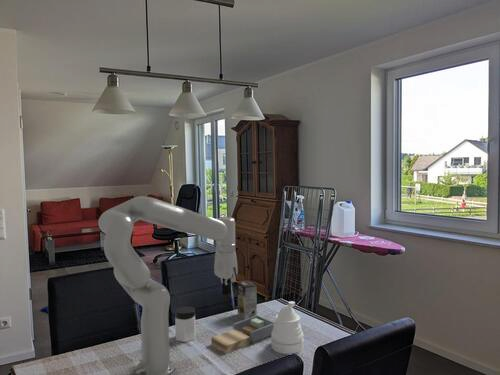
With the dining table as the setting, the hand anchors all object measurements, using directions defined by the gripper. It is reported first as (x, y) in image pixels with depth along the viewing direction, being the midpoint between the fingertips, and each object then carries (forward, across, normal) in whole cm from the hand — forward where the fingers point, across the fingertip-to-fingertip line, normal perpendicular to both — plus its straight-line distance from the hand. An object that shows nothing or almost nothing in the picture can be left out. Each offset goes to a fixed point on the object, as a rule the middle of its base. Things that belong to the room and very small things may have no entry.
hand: (226, 293), depth 158 cm
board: (+21, 0, +1) cm, 21 cm away
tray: (+21, 0, +14) cm, 25 cm away
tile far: (+18, 0, +14) cm, 23 cm away
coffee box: (+21, -18, +25) cm, 37 cm away
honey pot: (+21, +17, +17) cm, 32 cm away
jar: (+21, -18, -9) cm, 29 cm away
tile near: (+20, 0, +12) cm, 23 cm away
